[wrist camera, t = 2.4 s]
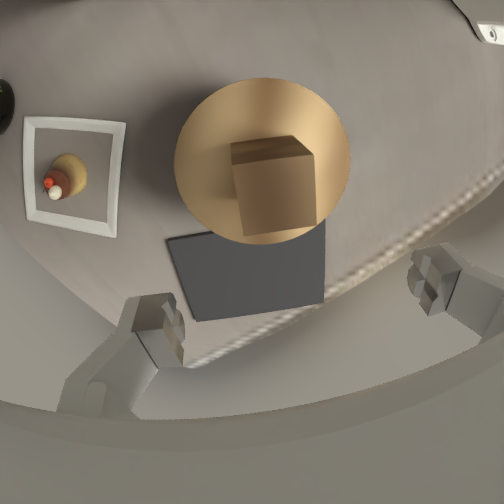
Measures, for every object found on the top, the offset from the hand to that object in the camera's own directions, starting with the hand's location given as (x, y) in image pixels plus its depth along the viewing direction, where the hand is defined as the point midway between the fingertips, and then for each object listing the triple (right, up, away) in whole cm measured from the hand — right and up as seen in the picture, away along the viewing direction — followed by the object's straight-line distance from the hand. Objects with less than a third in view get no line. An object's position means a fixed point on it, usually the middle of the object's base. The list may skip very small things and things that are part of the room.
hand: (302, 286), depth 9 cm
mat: (-1, -1, +23) cm, 23 cm away
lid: (-1, +7, +10) cm, 13 cm away
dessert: (-20, +9, +15) cm, 27 cm away
